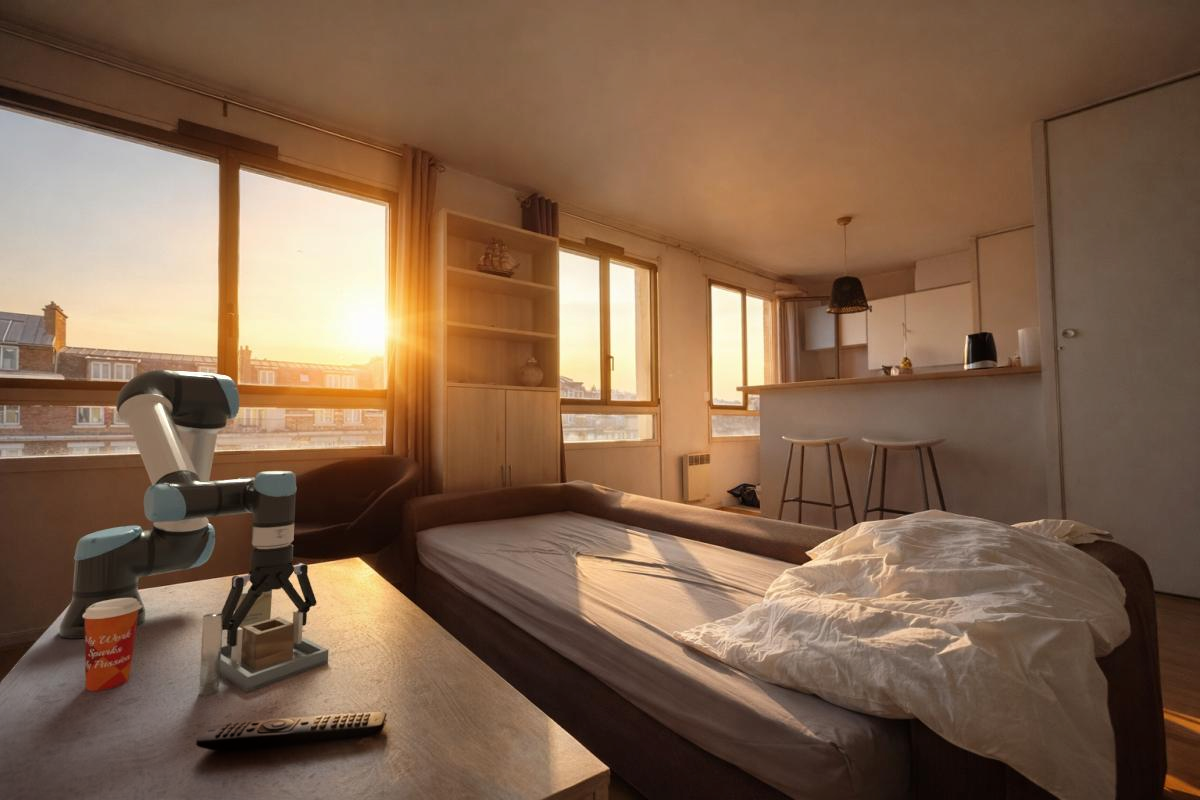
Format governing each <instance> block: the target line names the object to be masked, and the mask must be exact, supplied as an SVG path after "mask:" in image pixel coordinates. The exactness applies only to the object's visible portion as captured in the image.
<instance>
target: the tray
mask: <svg viewBox="0 0 1200 800" xmlns="http://www.w3.org/2000/svg"><path fill="white" fill-rule="evenodd" d="M231 652H232V647H230V646H228V645H227V643H226V644H222V645H221V664H220V676H223V677H224V678H226V679H227V680H228V681H229V682H231V683H233V684H234V685H236V686H237V687H238V688H239V689H241V690H243V691H244V692H246V693H247V694H248V693H250V692H253V691H256V690H258V689H261V688H263V687H266V686H270V685H272V684H274V683H278V682H281V681H283V680H286V679H289V678H291V677H295V676H297V675H299V674H303V673H305V672H308V671H310V670H311V671H312V670H313V669H315V668H318V667H321V666H325V665H327V664H329V649H328V648H326V647H324V646H322V645H320V644H318V643H316V642H314V641H311V640H309V639H307V637H304V636H302V643H300V644H297V643H295V642H293V658H291V659H288V660H285V661H282V662H279V663H276V664H273V665H270V666H267V667H264V668H261V669H258V670H254V669H253V668H251V667H249V666H248V665H246V664H245V663H243V662H241V663H237V664H236V663H235V662H233V661H232V660H231Z"/></svg>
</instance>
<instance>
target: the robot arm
mask: <svg viewBox="0 0 1200 800" xmlns="http://www.w3.org/2000/svg"><path fill="white" fill-rule="evenodd" d="M115 401H116V403H115V405H116V406H115V407H116V411H117V415H118V417H119V419H120V420H121V422H122V423H124V424H125V425H127V426H128V427H129V428H130V431H131V434H132V437H133V439H134V441H135V444H136V447H137V449H138V452H139V454H140V457H141V459H142V462H143V465H144V468H145V469H146V472H147V475H148V478H149V480H150V483H151V485H150V486H148V488H146V491H145V493H144V497H143V507H144V509H143V510H144V511H143V512H144V516H145V517H146V519H147V520H148V521H149V522H150V523H151V522H152V523H153V524H152V528H151V529H146V530H143V528H142V527H141V525H126V526H118V527H116V526H115V527H112V528H106V529H103V530H98V531H95V532H92V533H89V534H86V535H84V536H82V537H80V538H79V540H78V541H77V544H76V547H75V553H74V556H73V559H74V568H73V569H74V571H73V583H72V586H73V587H72V599H71V601H70V603H69V605H68V608H67V610H66V612H65V614H64V615H63V616H64V617H63V618H62V620H61V622H60V626H59V633H58V634H59V636H60V637H61V638H64V639H85V618H83V617H82V616H83V614H84V613H85V612H86V609H87V608H88V607H90V606H91V605H92V604H95V603H98V602H102V601H106V600H111V599H118V598H135V599H137V601H138V602H140V603H139V604H140V605H141V606H142V608H140V609H139V610H138V617H137V625H136V627H137V626H138V625H140V624H142V623H144V622H145V621H146V608H145V605H144V604H143V600H142V597H141V595H140V593H139V589H138V588H139V578H142V577H150V576H155V575H161V574H167V573H172V572H173V573H174V572H178V571H187V570H189V569H192V568H196V567H197V568H198V567H201V566H202V565H203V564H205V563H207V562H208V561H209V559H210V557H211V556H212V554H213V551H214V548H215V544H216V538H215V535H216V530H215V528H214V525H212V524H211V523H209V519H208V518H209V517H210V518H213V517H220V516H228V515H239V514H240V515H241V514H250V513H251V514H253V517H252V532H251V545H252V546H253V547H252V549H251V553H250V571H249V572H248V574H246V575H244V574H243V575H241V576H239V575H234V576H232V578H231V588H230V590H229V593H228V596H227V598H226V599H225V600H226V601H224V602H225V603H224V605H223V608H222V610H221V611H220V612H221V613H223V627H222V631H225V630H226V631H227V633H226V634H227V635H226V644H227V645H228V646H230V647H232V652H231V660H232V661H233V662H235V663H236V664H237V663H241V653H242V633H243V629H242V628H240V627H239V626H240V624H241V623H242V621H243V620H244V618H245V617H246V615H247V614H248V612H249V611H250V609H251V607H252V606H253V604H254V603H255V601H256V600H257V598H258V597H260V596H261V594H262V593H263V592H268V591H271V590H272V591H273V590H281V589H282V590H283V591H284V593H285V594H286V595H287V596H288V598H289V599H290V601H291V602H292V603H293V604H294V606H295V607H296V608H297V609H296V610H295V609H294V610H293V611H292V623H293V624H294V641H293V642H295V643H297V644H300V643H302V637H303V627H304V626H306V624H307V617H308V612H309V611H310V610H311V607H315V606H317V600H316V597H315V594H314V590H313V587H312V584H311V581H310V579H309V575H308V571H309V570H308V567H309V565H308V564H306V563H302V562H298V563H297V564H295V565H293V559H294V556H293V555H294V545H293V544H292V542H293V541H294V536H295V535H294V533H295V515H296V500H297V499H296V498H297V496H296V495H297V489H298V488H297V479H296V478H297V476H296V473H294V472H293V471H290V470H286V471H285V470H269V471H260V472H258V473H257V474H256V475H255V476H247V477H246V476H245V477H239V478H238V477H237V478H236V479H233V478H232V479H221V480H218V479H217V480H210V479H211V478H210V477H211V472H212V466H213V461H214V455H215V450H216V444H217V438H218V433H219V432H220V431H221V430H223V429H225V428H226V426H227V422H228V420H231V419H234V418H236V417H237V414H238V413H239V410H240V394H239V390H238V386H237V384H236V382H235V381H234V380H233V378H231V377H230V376H227V375H224V374H223V375H222V374H216V373H213V372H195V371H180V370H170V369H169V370H168V369H156V370H149V371H146V372H142V373H140V374H138V375H136V376H135V377H134V376H133V378H131V379H130V380H128V382H126V383H125V384H124V386H122V388H121V389H120V391H119V392H118V395H117V397H116V400H115ZM293 573H294V574H295V575H296V578H297V581H298V584H299V586H300V590H301V593H302V596H303V598H304V599H303V598H302V597H301V595H300V594H299V593H298V591H297V589H295V587H294V585H293V584H292V582H291V581H290V577H291V576H292V574H293ZM248 582H250V583H251V585H250V587H248V588H249V590H248V593H247V595H246V596H245V598H244V599H243V601H242V602H241V604H240V605H239V607H238V608H237V610H236V611H235V609H236V606H237V604H238V601H239V599H240V596H241V594H242V591H243V589H244V587H246V586H247V583H248Z"/></svg>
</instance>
